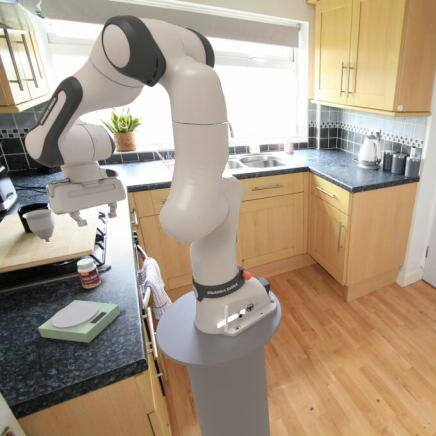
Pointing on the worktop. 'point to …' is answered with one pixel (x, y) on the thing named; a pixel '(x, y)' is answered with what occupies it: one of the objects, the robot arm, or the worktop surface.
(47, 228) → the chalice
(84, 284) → the pill bottle
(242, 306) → the robot arm
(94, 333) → the scale
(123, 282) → the worktop surface
